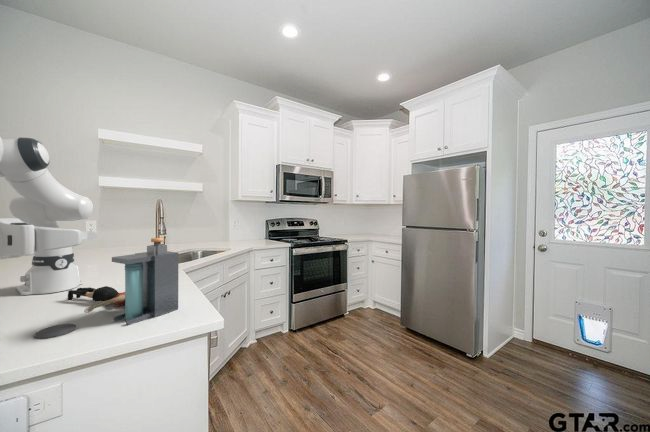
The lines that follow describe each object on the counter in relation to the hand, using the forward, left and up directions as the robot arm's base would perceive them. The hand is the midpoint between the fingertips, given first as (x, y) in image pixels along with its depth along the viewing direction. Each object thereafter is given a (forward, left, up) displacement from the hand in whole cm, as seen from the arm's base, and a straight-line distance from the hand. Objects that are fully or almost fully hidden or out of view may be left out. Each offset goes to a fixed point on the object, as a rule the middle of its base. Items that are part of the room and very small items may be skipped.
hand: (84, 233), depth 71 cm
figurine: (-23, +17, -27) cm, 40 cm away
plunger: (0, +20, -7) cm, 21 cm away
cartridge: (0, +13, -27) cm, 30 cm away
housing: (0, +16, -27) cm, 31 cm away
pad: (-9, -2, -27) cm, 29 cm away
